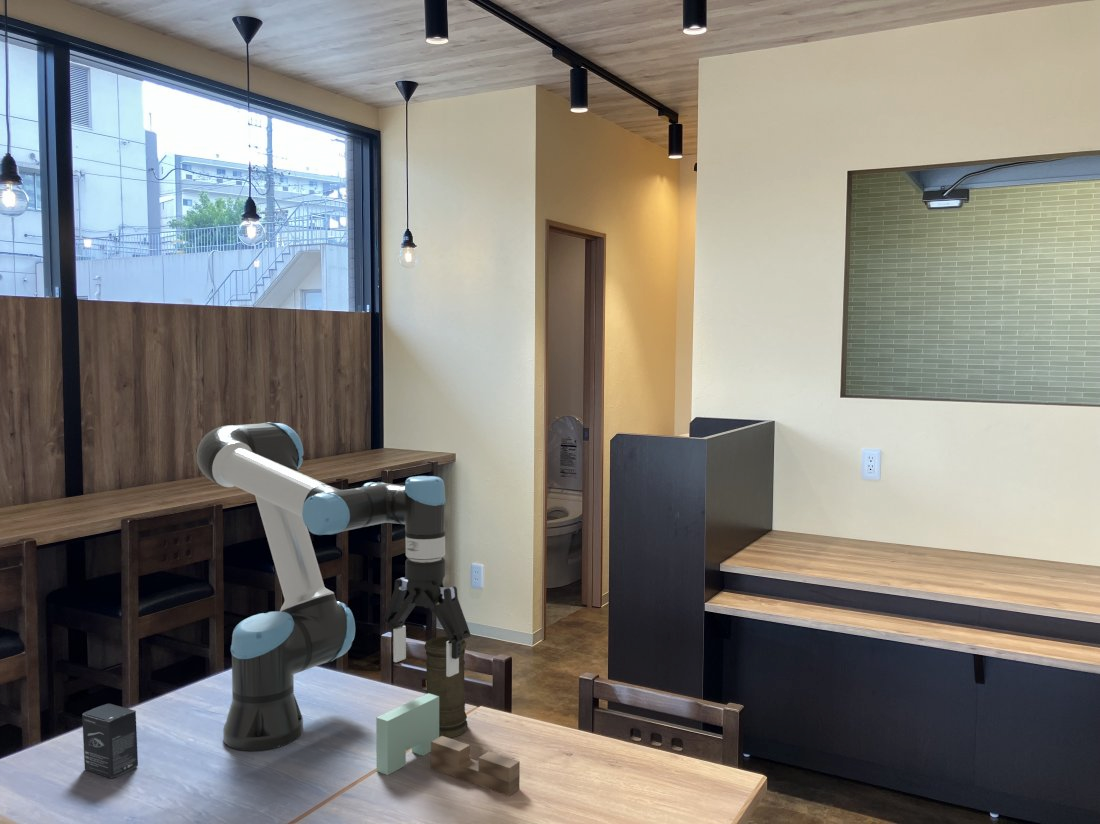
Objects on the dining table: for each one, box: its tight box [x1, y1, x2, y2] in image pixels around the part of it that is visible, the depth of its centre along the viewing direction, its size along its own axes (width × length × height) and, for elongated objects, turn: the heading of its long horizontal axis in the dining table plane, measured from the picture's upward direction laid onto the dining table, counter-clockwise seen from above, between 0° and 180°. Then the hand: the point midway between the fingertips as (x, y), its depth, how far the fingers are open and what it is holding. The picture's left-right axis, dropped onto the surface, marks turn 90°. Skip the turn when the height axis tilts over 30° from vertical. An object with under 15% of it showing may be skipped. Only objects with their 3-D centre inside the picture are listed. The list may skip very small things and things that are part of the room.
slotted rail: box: [430, 736, 521, 797], centre depth 151 cm, size 18×3×5 cm, turn 56°
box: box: [81, 703, 139, 779], centre depth 154 cm, size 8×6×11 cm
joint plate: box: [375, 693, 439, 776], centre depth 159 cm, size 14×3×10 cm, turn 146°
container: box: [424, 635, 468, 738], centre depth 172 cm, size 9×9×18 cm
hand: (425, 667), depth 162 cm, fingers open, 13 cm apart
